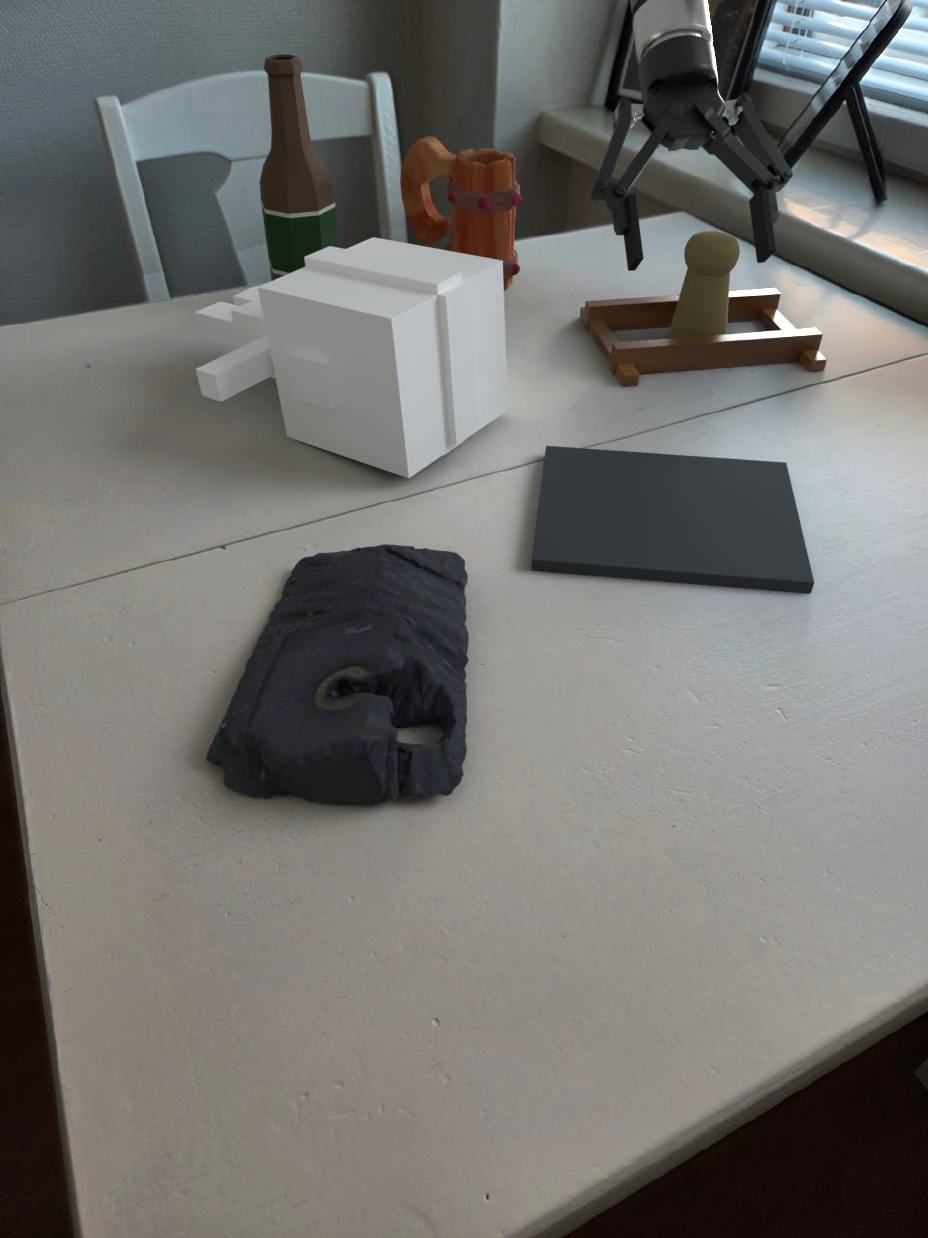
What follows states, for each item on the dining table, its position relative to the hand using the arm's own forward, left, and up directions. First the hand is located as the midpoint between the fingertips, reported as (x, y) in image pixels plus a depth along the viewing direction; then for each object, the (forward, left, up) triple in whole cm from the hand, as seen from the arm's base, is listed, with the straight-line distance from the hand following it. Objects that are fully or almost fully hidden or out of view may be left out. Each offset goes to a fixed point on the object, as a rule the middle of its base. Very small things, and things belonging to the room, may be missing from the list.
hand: (701, 261), depth 94 cm
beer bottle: (+41, -2, -8) cm, 42 cm away
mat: (+3, +34, -8) cm, 35 cm away
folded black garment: (+23, +54, -8) cm, 59 cm away
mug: (+25, -10, -8) cm, 29 cm away
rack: (-1, +2, -8) cm, 8 cm away
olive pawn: (-1, +2, -8) cm, 8 cm away
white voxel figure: (+32, +20, -8) cm, 39 cm away
